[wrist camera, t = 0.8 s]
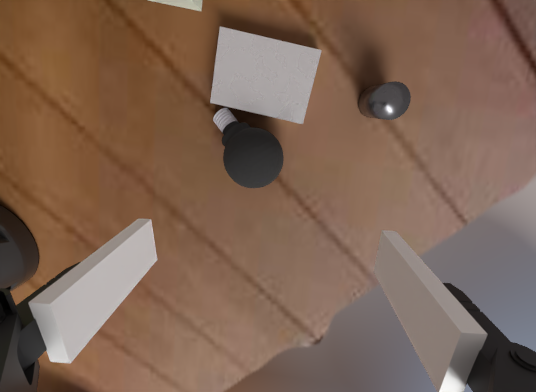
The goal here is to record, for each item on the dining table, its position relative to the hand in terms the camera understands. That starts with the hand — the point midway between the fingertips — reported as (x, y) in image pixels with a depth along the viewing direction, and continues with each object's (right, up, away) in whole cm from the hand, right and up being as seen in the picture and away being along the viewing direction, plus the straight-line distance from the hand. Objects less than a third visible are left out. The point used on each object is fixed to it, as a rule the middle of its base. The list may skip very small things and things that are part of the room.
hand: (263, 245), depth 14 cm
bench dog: (+12, +13, +13) cm, 22 cm away
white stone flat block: (0, +16, +13) cm, 20 cm away
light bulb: (-2, +9, +15) cm, 18 cm away
